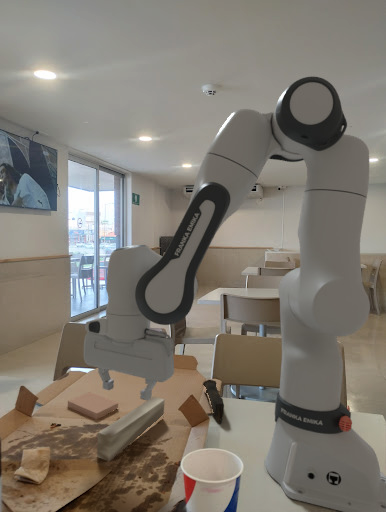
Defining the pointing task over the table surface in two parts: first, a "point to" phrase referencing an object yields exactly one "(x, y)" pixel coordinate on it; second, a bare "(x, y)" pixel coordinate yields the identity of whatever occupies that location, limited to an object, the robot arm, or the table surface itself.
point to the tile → (92, 405)
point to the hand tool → (215, 400)
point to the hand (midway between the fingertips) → (126, 393)
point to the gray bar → (128, 428)
